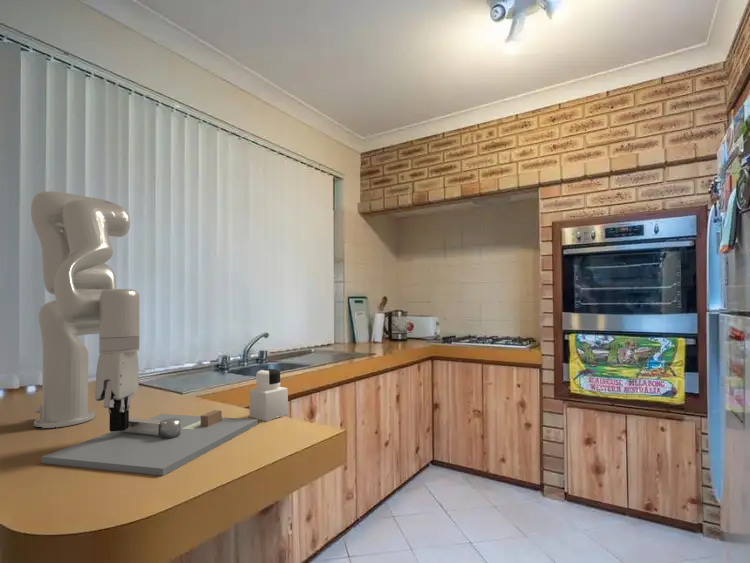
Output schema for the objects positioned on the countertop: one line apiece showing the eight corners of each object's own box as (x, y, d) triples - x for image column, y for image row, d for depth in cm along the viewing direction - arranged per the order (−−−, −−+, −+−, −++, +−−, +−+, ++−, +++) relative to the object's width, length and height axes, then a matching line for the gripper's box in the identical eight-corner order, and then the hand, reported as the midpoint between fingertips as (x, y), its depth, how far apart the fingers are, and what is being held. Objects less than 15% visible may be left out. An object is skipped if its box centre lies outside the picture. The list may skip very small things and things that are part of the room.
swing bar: (184, 432, 89) (184, 418, 89) (170, 438, 85) (170, 424, 86) (130, 427, 94) (130, 413, 95) (114, 432, 91) (114, 418, 91)
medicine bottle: (271, 411, 111) (271, 366, 112) (288, 415, 107) (287, 369, 107) (248, 417, 106) (248, 370, 106) (265, 422, 101) (265, 373, 102)
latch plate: (41, 463, 78) (41, 443, 78) (162, 418, 107) (162, 404, 107) (163, 475, 70) (163, 454, 70) (257, 424, 99) (257, 409, 99)
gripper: (118, 342, 97) (117, 421, 96) (81, 349, 82) (80, 442, 81) (151, 341, 98) (151, 419, 97) (121, 348, 83) (120, 440, 82)
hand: (119, 429), depth 89 cm, fingers closed
